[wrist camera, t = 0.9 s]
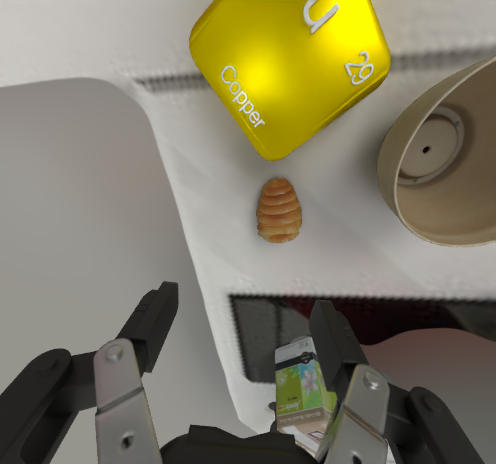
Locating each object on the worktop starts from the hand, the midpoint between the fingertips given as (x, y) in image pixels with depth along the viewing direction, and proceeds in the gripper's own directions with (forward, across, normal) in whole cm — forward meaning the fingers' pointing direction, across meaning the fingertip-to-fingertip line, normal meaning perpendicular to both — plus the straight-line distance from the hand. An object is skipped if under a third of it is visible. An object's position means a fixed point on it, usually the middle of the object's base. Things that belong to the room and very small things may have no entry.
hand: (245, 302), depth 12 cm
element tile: (+21, -2, -16) cm, 26 cm away
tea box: (+23, -19, +38) cm, 48 cm away
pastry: (+22, -4, +2) cm, 22 cm away
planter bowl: (+20, -20, -10) cm, 30 cm away
